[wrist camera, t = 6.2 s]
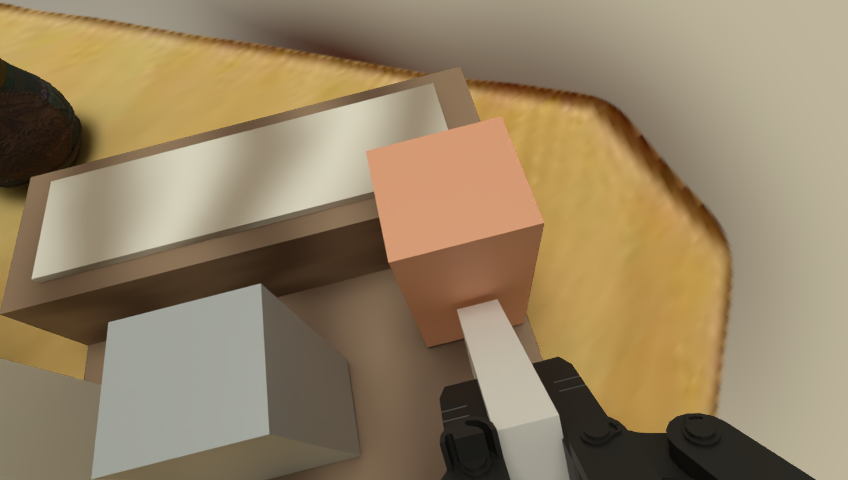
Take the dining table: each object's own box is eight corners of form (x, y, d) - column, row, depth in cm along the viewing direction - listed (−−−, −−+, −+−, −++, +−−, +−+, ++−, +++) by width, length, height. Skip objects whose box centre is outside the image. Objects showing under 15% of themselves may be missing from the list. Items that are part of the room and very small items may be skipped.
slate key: (255, 482, 19) (91, 478, 11) (251, 384, 21) (108, 322, 13) (360, 456, 19) (269, 434, 11) (347, 359, 21) (260, 283, 13)
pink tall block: (427, 347, 21) (388, 262, 13) (409, 267, 23) (365, 150, 15) (524, 323, 21) (544, 223, 13) (497, 245, 23) (501, 116, 15)
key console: (80, 584, 20) (-85, 623, 14) (118, 236, 28) (23, 172, 22) (571, 461, 19) (605, 450, 14) (466, 147, 28) (459, 59, 22)
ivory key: (66, 530, 19) (-231, 560, 11) (78, 427, 21) (-168, 392, 13) (170, 504, 19) (-54, 515, 11) (173, 403, 21) (-16, 354, 13)
